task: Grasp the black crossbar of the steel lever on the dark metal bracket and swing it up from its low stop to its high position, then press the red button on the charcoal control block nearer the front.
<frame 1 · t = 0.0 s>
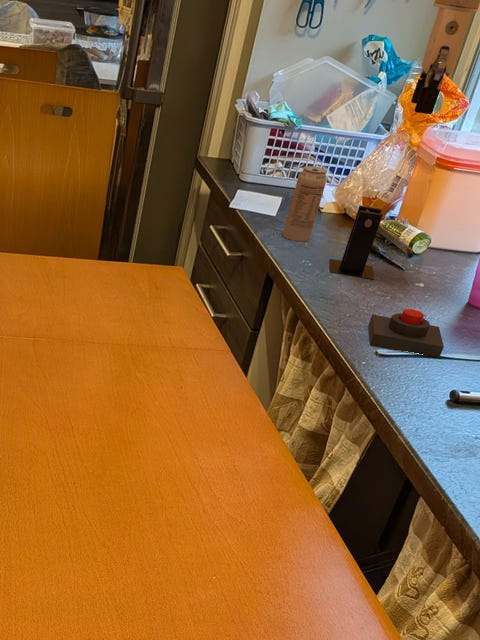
hand: (420, 108, 174), 31 cm above the table, tool pointing down, fingers open, 9 cm apart
energy drink can: (294, 242, 209), on the table
control block: (402, 341, 168), on the table
button: (411, 317, 165), point 4 cm above the table, slide at 0.1 cm
lever: (387, 234, 188), point 9 cm above the table, hinge at -25.0°
bracket: (349, 274, 195), on the table
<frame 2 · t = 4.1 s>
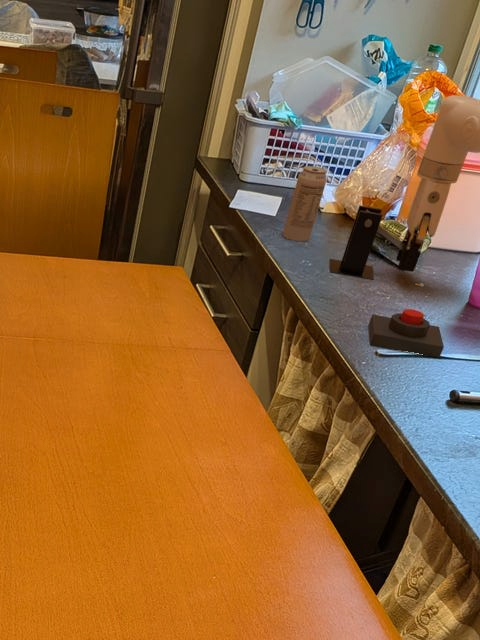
hand: (404, 264, 191), 4 cm above the table, tool pointing down, fingers closed on lever, 5 cm apart
lever: (387, 234, 188), point 9 cm above the table, hinge at -25.0°, touching gripper
everything else where it was.
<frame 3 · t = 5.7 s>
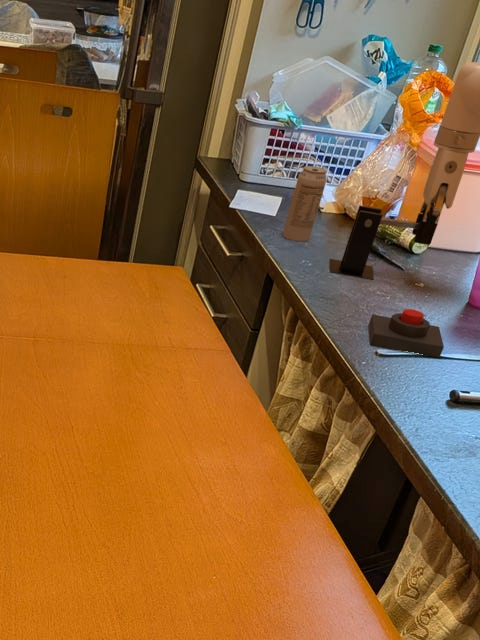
hand: (420, 238, 187), 9 cm above the table, tool pointing down, fingers closed on lever, 5 cm apart
lever: (393, 222, 187), point 11 cm above the table, hinge at 2.7°, touching gripper
everything else where it was.
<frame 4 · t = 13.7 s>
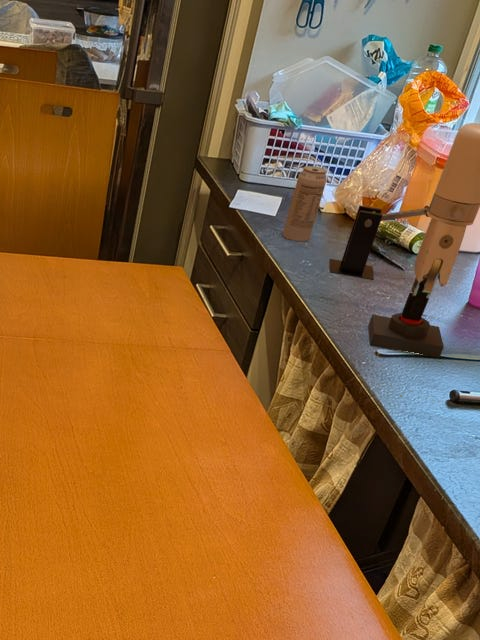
hand: (410, 317, 165), 4 cm above the table, tool pointing down, fingers closed
button: (409, 323, 166), point 3 cm above the table, slide at -0.9 cm, touching gripper
lever: (394, 215, 186), point 13 cm above the table, hinge at 17.6°
everything else where it was.
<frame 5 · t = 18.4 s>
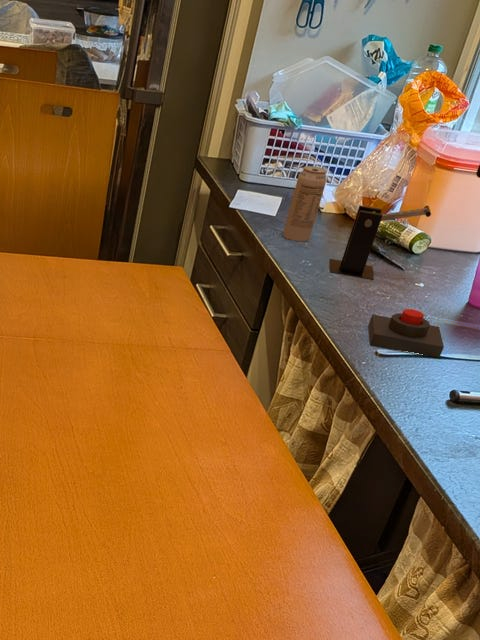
button: (411, 317, 165), point 4 cm above the table, slide at 0.1 cm
everything else where it was.
at the end: lever at +18° (first picture: -25°); button pushed in 1.1 cm at the most during the clip, back to where it started at the end; button slide at 0.1 cm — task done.
